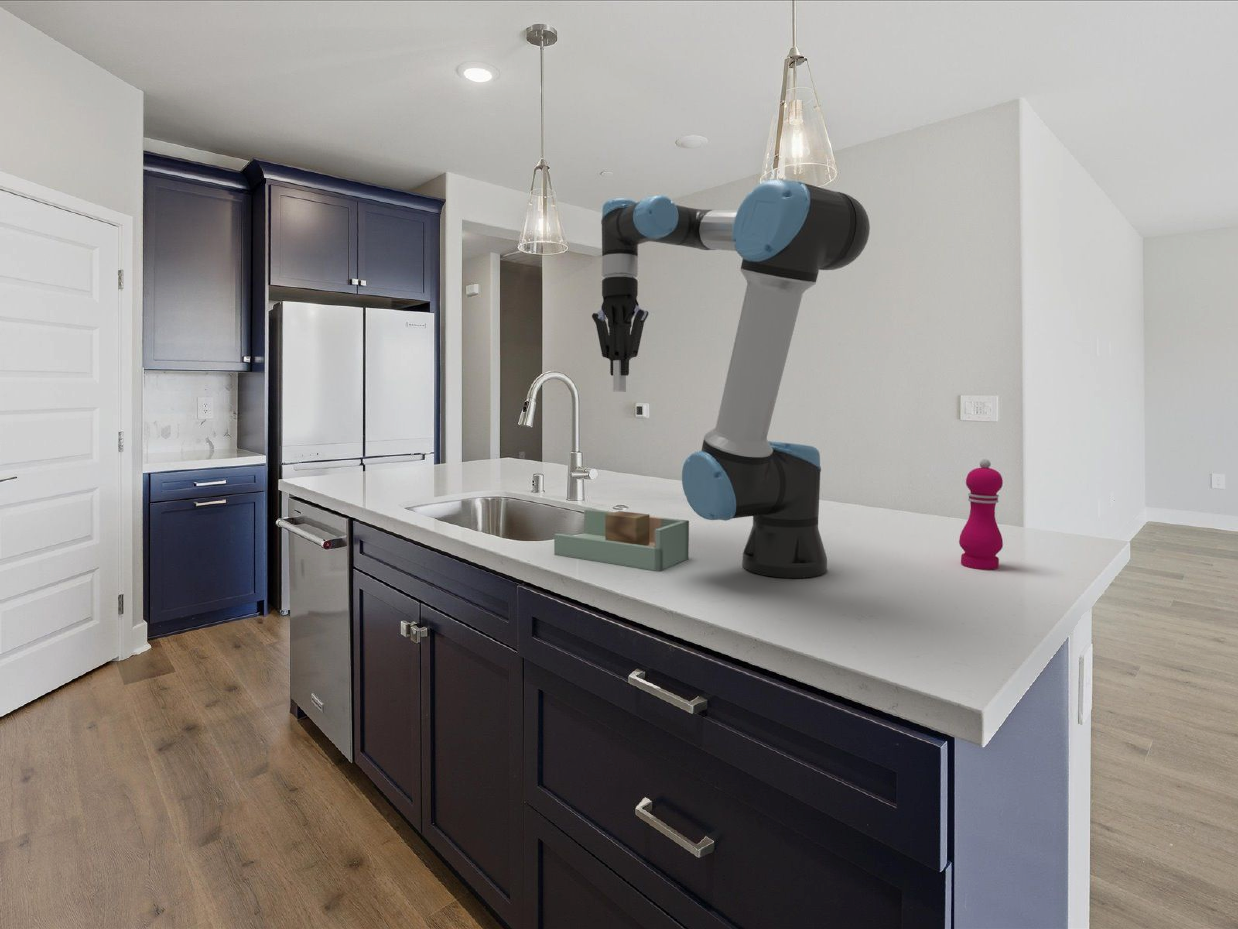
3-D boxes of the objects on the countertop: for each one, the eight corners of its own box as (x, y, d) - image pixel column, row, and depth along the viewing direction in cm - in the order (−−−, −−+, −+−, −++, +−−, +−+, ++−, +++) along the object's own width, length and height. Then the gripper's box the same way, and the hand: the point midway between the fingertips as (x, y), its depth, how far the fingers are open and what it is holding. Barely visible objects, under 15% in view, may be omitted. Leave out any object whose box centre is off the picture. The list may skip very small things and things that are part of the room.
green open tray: (688, 558, 132) (688, 520, 132) (659, 571, 123) (659, 530, 122) (587, 543, 145) (587, 509, 145) (554, 554, 136) (554, 517, 135)
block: (649, 544, 133) (649, 514, 133) (635, 549, 129) (636, 518, 128) (619, 540, 137) (619, 511, 136) (605, 545, 133) (605, 514, 132)
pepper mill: (1007, 571, 123) (1014, 461, 121) (964, 569, 125) (970, 460, 123) (993, 561, 130) (1000, 457, 128) (953, 560, 132) (958, 457, 130)
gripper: (655, 278, 142) (654, 391, 145) (604, 283, 149) (604, 391, 152) (637, 272, 136) (636, 391, 138) (584, 278, 143) (584, 391, 145)
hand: (619, 391), depth 145 cm, fingers closed
